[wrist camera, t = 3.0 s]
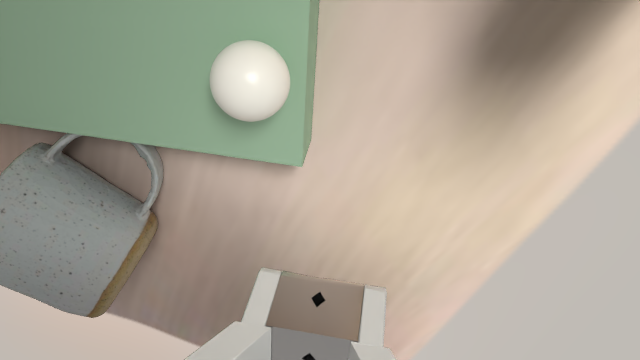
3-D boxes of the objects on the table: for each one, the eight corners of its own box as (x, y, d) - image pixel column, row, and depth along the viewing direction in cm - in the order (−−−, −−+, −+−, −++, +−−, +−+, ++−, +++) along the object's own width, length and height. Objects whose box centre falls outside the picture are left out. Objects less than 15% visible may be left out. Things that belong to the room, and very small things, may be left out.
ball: (222, 24, 20) (193, 54, 17) (298, 33, 20) (281, 65, 17) (226, 94, 22) (201, 130, 19) (296, 103, 22) (279, 141, 19)
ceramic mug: (138, 259, 34) (77, 355, 28) (25, 197, 32) (-67, 285, 26) (204, 161, 28) (146, 255, 22) (71, 78, 26) (-35, 156, 20)
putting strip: (-247, -127, 22) (-393, -115, 18) (323, -71, 20) (299, -42, 16) (-135, 77, 28) (-226, 120, 24) (311, 139, 26) (291, 199, 22)
